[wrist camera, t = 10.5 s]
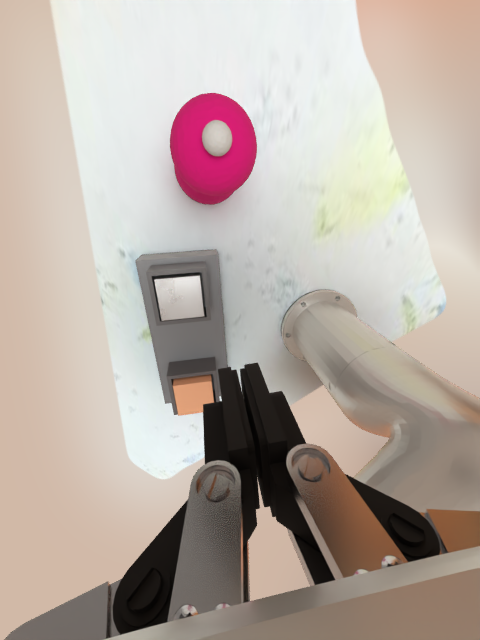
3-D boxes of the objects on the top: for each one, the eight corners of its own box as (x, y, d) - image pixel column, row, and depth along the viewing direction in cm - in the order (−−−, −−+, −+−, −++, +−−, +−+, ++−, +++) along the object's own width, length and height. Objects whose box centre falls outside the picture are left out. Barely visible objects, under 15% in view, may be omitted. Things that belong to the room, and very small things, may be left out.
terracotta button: (213, 396, 40) (214, 410, 37) (179, 400, 39) (178, 415, 37) (210, 368, 38) (211, 381, 35) (174, 372, 37) (172, 386, 35)
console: (227, 379, 46) (232, 410, 39) (167, 387, 45) (162, 420, 38) (216, 249, 37) (220, 259, 30) (141, 254, 36) (128, 267, 29)
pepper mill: (195, 214, 35) (193, 226, 17) (165, 155, 32) (122, 92, 14) (245, 188, 34) (298, 171, 16) (219, 126, 31) (249, 20, 13)
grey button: (203, 307, 35) (204, 316, 32) (164, 311, 34) (161, 320, 31) (199, 269, 33) (199, 275, 30) (157, 273, 32) (154, 279, 29)
